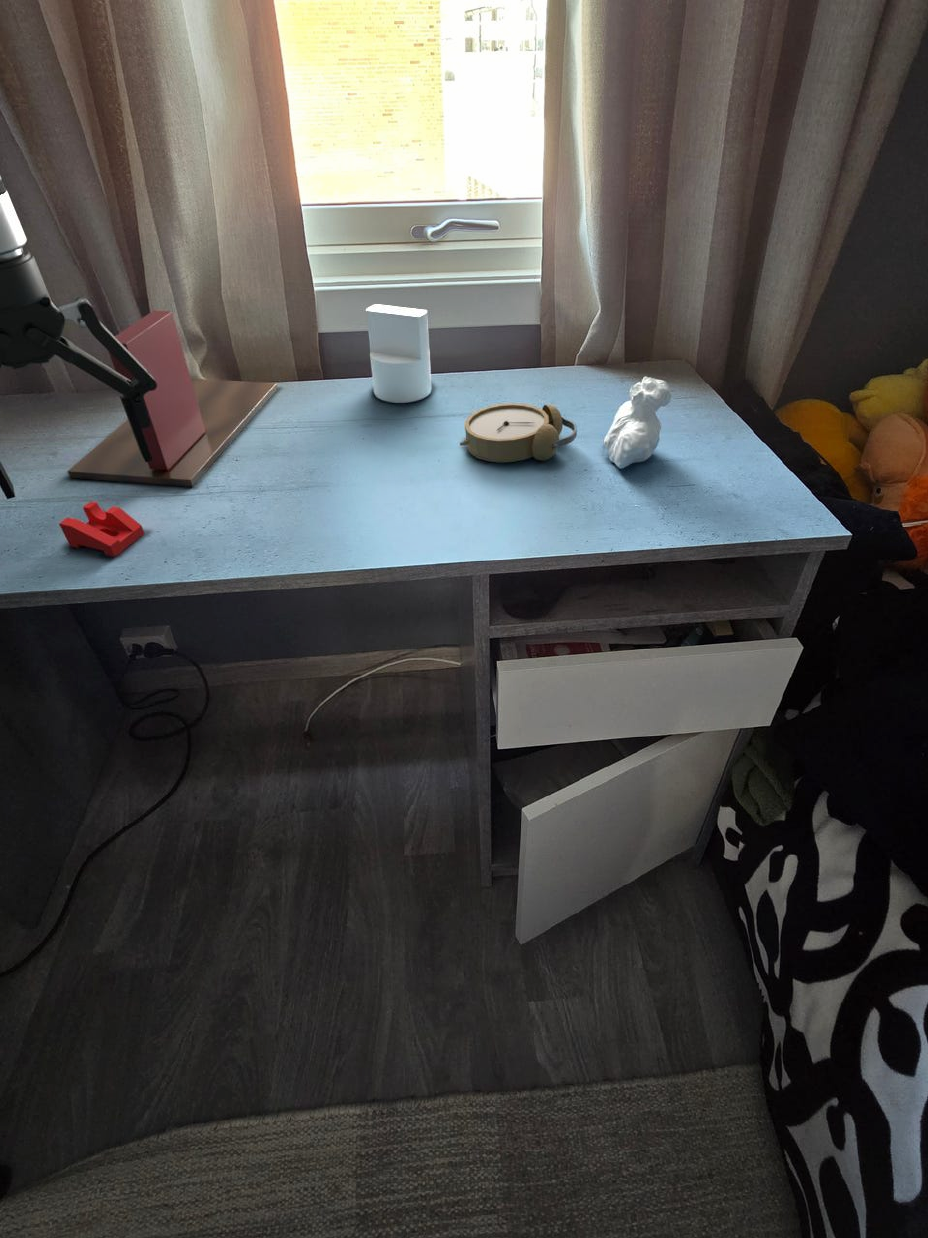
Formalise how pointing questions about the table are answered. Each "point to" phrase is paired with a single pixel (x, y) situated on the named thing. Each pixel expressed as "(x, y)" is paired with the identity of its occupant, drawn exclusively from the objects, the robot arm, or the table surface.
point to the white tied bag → (637, 423)
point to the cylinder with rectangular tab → (399, 353)
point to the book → (163, 388)
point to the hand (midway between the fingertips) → (80, 474)
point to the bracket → (102, 529)
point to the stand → (223, 420)
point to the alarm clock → (516, 432)
